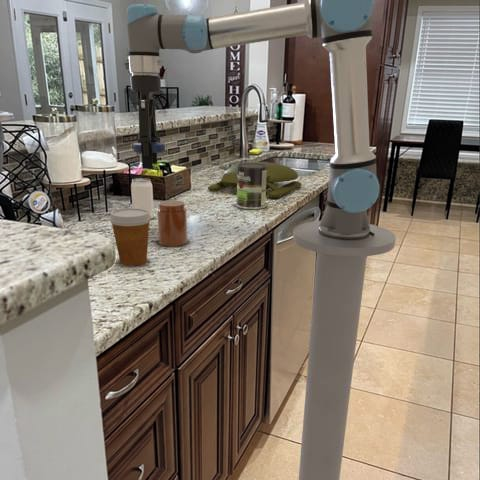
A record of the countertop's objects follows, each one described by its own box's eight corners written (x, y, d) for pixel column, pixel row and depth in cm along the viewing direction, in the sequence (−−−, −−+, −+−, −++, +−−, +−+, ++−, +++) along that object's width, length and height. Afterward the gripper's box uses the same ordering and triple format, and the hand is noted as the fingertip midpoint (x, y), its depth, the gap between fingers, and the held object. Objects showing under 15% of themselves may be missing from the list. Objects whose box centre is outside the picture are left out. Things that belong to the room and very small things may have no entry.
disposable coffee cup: (106, 266, 117) (102, 216, 112) (122, 254, 126) (118, 206, 121) (146, 269, 116) (142, 218, 111) (158, 256, 124) (156, 208, 120)
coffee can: (250, 211, 170) (251, 168, 164) (230, 205, 177) (230, 164, 171) (271, 206, 176) (273, 165, 171) (252, 201, 183) (252, 162, 178)
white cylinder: (138, 221, 155) (136, 182, 150) (129, 217, 160) (127, 179, 155) (157, 218, 158) (155, 180, 154) (148, 214, 163) (146, 177, 158)
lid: (129, 150, 137) (128, 142, 136) (157, 148, 141) (157, 141, 140) (140, 153, 130) (139, 146, 129) (169, 151, 134) (169, 144, 133)
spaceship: (277, 199, 186) (278, 173, 182) (205, 191, 198) (204, 166, 195) (307, 184, 215) (309, 161, 211) (243, 178, 227) (243, 156, 224)
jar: (188, 238, 139) (187, 200, 135) (186, 246, 132) (185, 206, 128) (160, 238, 139) (158, 200, 135) (157, 246, 132) (155, 206, 128)
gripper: (154, 74, 118) (159, 172, 127) (164, 75, 138) (167, 160, 147) (122, 74, 118) (129, 172, 127) (137, 75, 137) (142, 160, 146)
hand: (150, 165), depth 137 cm, fingers closed on lid, 8 cm apart
